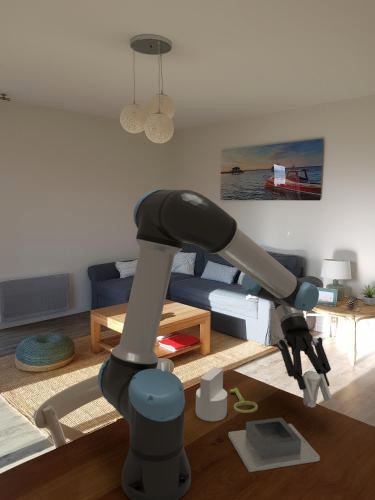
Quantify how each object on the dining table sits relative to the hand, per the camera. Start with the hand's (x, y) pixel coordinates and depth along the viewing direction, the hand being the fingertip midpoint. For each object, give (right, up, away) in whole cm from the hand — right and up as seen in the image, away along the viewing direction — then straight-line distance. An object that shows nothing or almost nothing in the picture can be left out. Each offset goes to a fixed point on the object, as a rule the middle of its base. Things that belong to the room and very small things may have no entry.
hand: (319, 400), depth 104 cm
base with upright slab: (-28, -8, +12) cm, 31 cm away
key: (-18, -8, +18) cm, 26 cm away
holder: (-13, -10, -4) cm, 17 cm away
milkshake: (-1, -3, +4) cm, 5 cm away
